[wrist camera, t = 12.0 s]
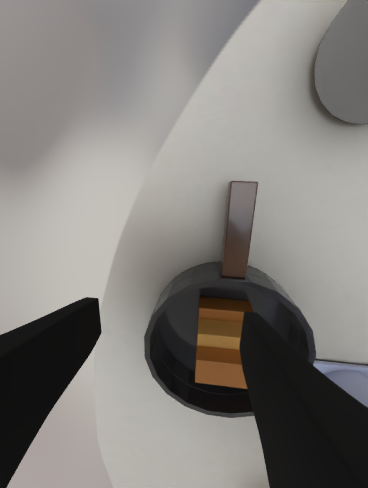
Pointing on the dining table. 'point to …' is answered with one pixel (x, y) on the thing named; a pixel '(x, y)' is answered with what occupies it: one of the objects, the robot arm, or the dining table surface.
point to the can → (345, 64)
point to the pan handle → (238, 228)
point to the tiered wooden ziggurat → (220, 342)
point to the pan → (185, 334)
